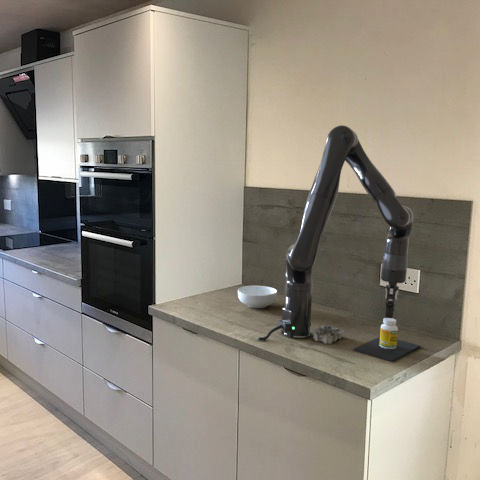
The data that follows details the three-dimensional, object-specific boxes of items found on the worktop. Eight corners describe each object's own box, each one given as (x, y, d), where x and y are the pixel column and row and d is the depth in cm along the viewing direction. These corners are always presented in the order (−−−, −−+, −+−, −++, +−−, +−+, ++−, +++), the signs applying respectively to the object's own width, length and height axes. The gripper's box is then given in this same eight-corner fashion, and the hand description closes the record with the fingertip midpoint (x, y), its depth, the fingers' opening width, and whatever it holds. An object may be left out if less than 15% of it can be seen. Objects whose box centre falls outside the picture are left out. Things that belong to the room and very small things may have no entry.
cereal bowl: (248, 298, 238) (248, 283, 237) (282, 304, 228) (283, 288, 227) (230, 306, 224) (230, 290, 223) (266, 313, 215) (267, 297, 214)
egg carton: (328, 345, 180) (329, 333, 179) (309, 339, 185) (310, 328, 185) (344, 338, 187) (345, 327, 186) (325, 332, 192) (326, 322, 192)
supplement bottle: (385, 343, 181) (387, 316, 179) (399, 347, 176) (402, 320, 175) (375, 345, 178) (378, 318, 176) (390, 350, 173) (392, 322, 172)
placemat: (392, 361, 166) (392, 360, 166) (354, 350, 175) (354, 348, 175) (420, 347, 179) (420, 345, 178) (383, 337, 188) (383, 335, 188)
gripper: (383, 261, 180) (378, 307, 183) (380, 269, 167) (375, 318, 170) (407, 264, 177) (402, 310, 179) (406, 272, 164) (401, 322, 167)
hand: (389, 314), depth 175 cm, fingers open, 8 cm apart
